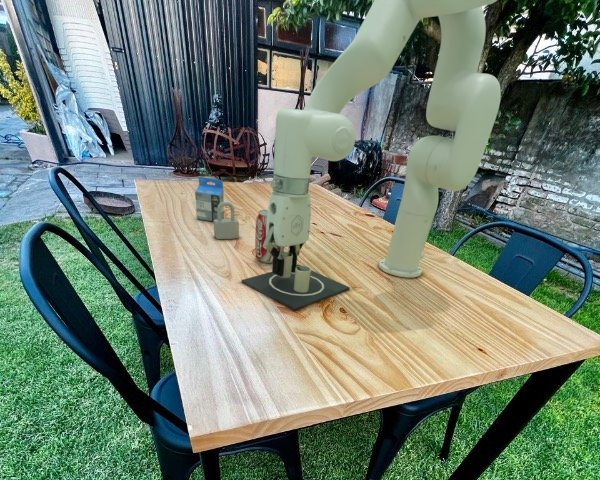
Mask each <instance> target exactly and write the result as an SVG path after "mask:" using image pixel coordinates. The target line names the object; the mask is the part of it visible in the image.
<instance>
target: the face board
mask: <svg viewBox="0 0 600 480" xmlns="http://www.w3.org/2000/svg"><path fill="white" fill-rule="evenodd" d="M297 266H302V265H301V264H297V265H296V267H297ZM294 279H295V273H292V272H291V277H288V278H282V277H279V276H277V275H276V274H274V273H273V272H272V271H269V272H266V273H262V274H259V275H254V276H251V277H246V278H244V279H241V284H244V285H246V286H248V287H249V288H251V289H253V290H255V291H257V292H258V293H260V294H262V295H264V296H266V297H268V298H270V299H272V300H273V301H276V302H277V303H279V304H281V305H282V306H285V307H287V308H289V309H291V310H292V311H294V312H295V311H298V310H301V309H303V308H305V307H308V306H311V305H314V304H316V303H319V302H321V301H323V300H325V299H329V298H331V297H334V296H336V295H338V294H341V293H344V292H347V291H350V286H347V285H345V284H343V283H341V282H339V281H336V280H334V279H332V278H330V277H327V276H325V275H323V274H321V273H319V272H316V271H314V270H312V269H311V274H310V282H309V290H308V292H305V293H300V292H297V291H295V290H294Z"/></svg>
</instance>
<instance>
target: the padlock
mask: <svg viewBox="0 0 600 480" xmlns="http://www.w3.org/2000/svg"><path fill="white" fill-rule="evenodd" d="M223 206H224V207H229V209H230V218H224V219H221V208H222V207H223ZM235 215H236V214H235V206H234V204H232V202H230V201H224V202H221V203H220V204H219V205H218V207H217V219H214V220H213V221H214V222H213V221H212V222H213V235H214V238H216V239H217V240H233V239H239V238H240V222H239V220H237V219H236V218H235V217H236V216H235Z"/></svg>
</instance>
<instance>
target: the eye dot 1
mask: <svg viewBox="0 0 600 480" xmlns="http://www.w3.org/2000/svg"><path fill="white" fill-rule="evenodd" d="M282 259H284V272H283V276H281V277H282V278H288V277H291V271H292V260H293V254H292V253H290V252H288V251H286V250H284V253H283V258H282ZM277 276H278V275H277ZM279 277H280V276H279Z"/></svg>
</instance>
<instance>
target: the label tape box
mask: <svg viewBox="0 0 600 480" xmlns="http://www.w3.org/2000/svg"><path fill="white" fill-rule="evenodd" d="M197 179H198V186H197V188H196V189H195V191H194V195H195V196H194V197H195V211H196V220H201V221H209V222H213V223H214V221H213V220H214V219H217V207H218V205H219V204H220V203H221V202H225V199H224V197H225V196H224V195H225V194H224V192H225V191H224V181H223V180H222V179H217V178H210V177H204V176H198V178H197ZM221 219H225V206H223V207H222V208H221Z"/></svg>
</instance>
